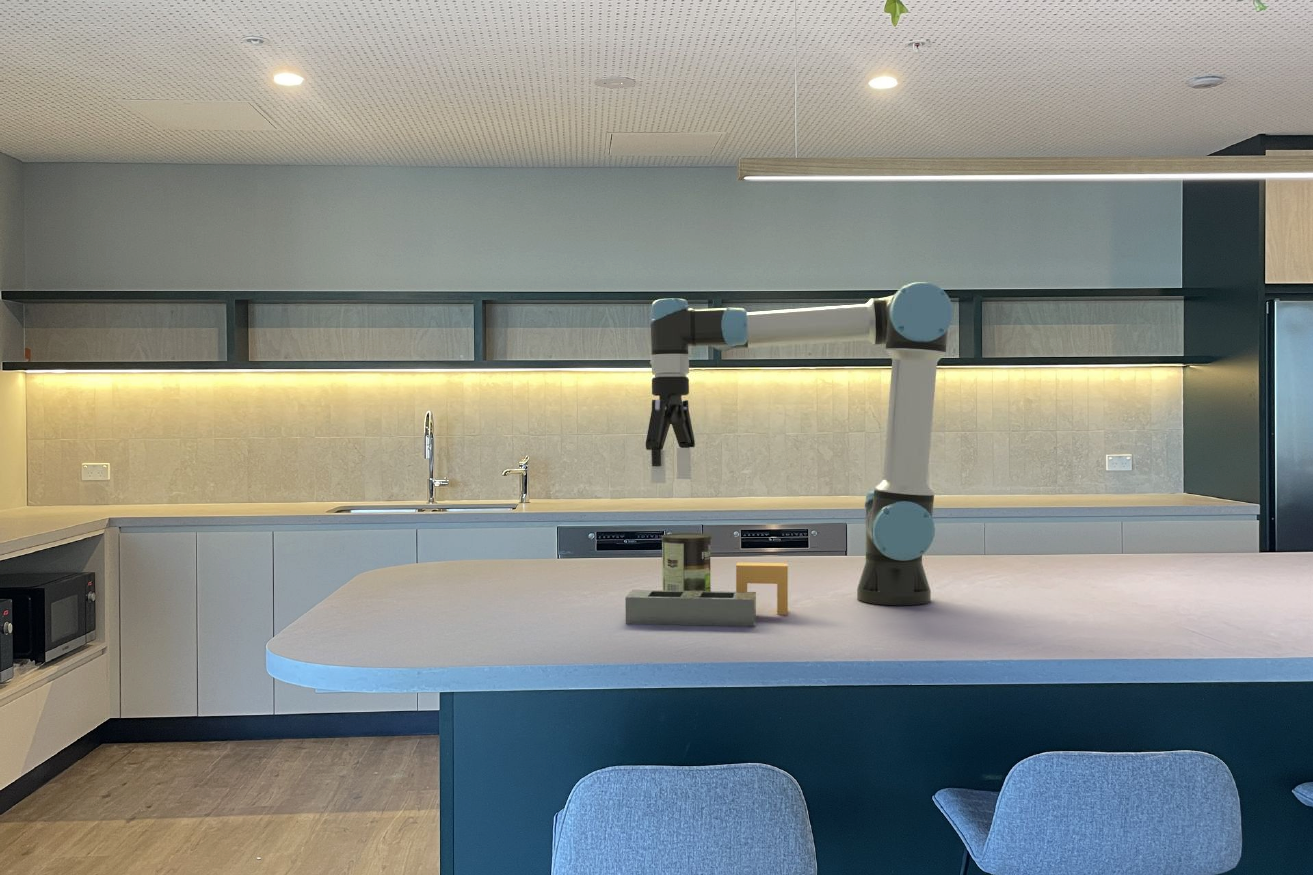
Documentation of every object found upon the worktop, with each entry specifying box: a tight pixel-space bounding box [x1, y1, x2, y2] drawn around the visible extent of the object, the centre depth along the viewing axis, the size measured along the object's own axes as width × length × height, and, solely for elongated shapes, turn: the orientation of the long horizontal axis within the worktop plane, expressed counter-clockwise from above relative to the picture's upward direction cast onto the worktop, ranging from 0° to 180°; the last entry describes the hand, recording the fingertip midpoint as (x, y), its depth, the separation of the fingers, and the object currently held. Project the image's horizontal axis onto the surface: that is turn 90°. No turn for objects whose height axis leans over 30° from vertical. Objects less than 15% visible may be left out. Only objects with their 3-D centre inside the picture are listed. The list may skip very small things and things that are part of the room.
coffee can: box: [661, 532, 712, 591], centre depth 223 cm, size 10×10×14 cm
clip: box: [735, 562, 789, 615], centre depth 212 cm, size 10×4×10 cm, turn 82°
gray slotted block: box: [624, 589, 757, 628], centre depth 203 cm, size 24×8×5 cm, turn 83°
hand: (671, 481), depth 217 cm, fingers open, 13 cm apart
